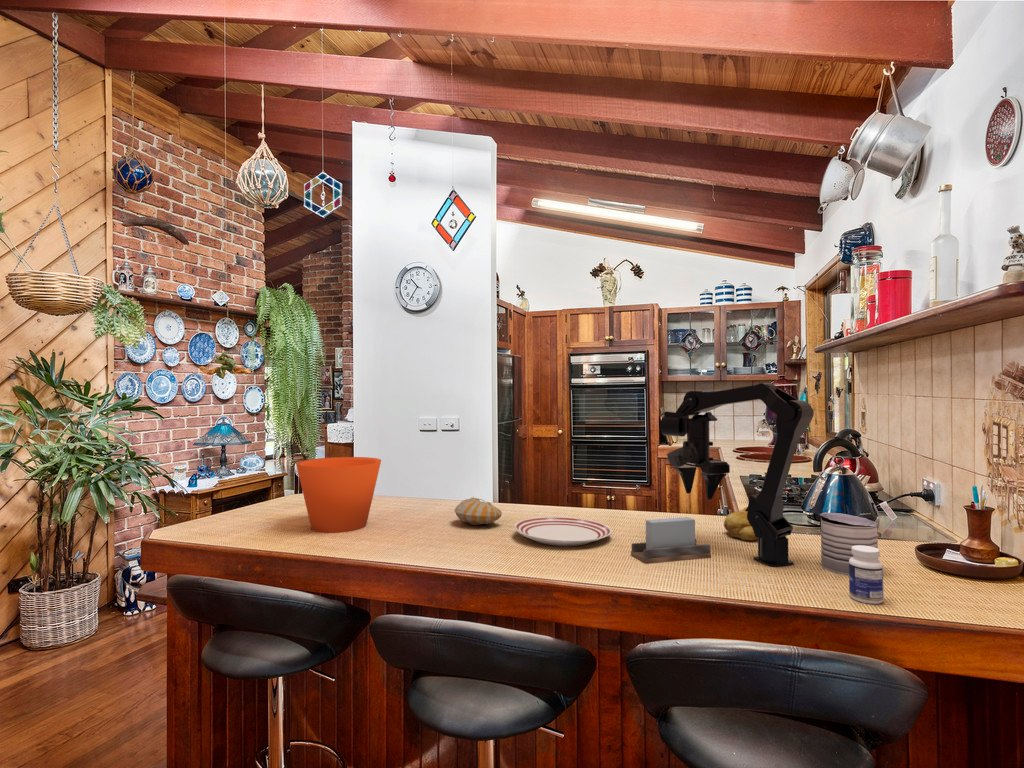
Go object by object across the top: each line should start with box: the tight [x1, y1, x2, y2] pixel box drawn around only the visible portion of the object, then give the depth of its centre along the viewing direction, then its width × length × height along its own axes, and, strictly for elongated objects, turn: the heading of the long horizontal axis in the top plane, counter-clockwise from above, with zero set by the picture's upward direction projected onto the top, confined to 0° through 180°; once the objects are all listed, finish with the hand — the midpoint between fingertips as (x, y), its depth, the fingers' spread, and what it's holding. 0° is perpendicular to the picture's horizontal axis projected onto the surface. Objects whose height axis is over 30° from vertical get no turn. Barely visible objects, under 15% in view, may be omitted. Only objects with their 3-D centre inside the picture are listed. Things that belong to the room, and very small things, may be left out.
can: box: [818, 512, 879, 576], centre depth 127 cm, size 11×11×12 cm
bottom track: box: [630, 538, 712, 564], centre depth 137 cm, size 18×7×3 cm, turn 106°
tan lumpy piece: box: [723, 506, 759, 541], centre depth 156 cm, size 13×10×8 cm
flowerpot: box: [295, 456, 382, 534], centre depth 169 cm, size 25×25×20 cm
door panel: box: [645, 516, 696, 549], centre depth 137 cm, size 12×3×8 cm, turn 106°
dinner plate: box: [513, 516, 613, 547], centre depth 156 cm, size 28×27×3 cm
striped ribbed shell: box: [454, 495, 502, 526], centre depth 175 cm, size 8×22×15 cm
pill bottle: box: [848, 545, 885, 605], centre depth 108 cm, size 6×6×10 cm
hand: (698, 496), depth 148 cm, fingers open, 9 cm apart
